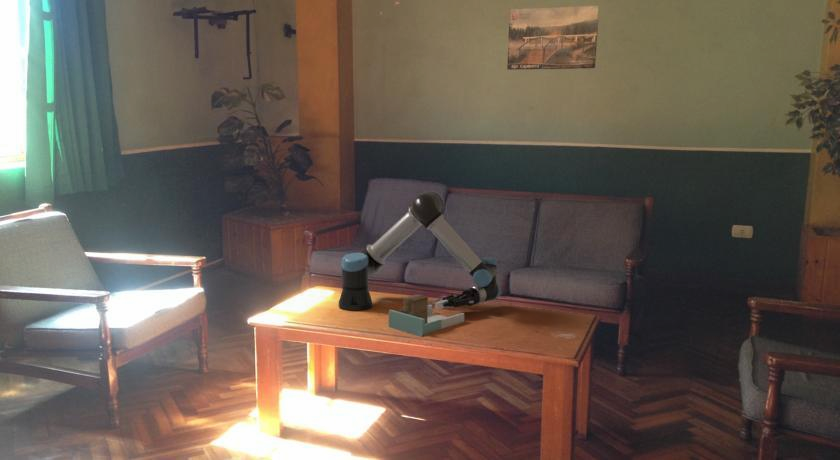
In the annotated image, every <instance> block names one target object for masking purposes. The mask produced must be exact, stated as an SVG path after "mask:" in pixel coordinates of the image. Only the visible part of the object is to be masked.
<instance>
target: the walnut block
mask: <svg viewBox="0 0 840 460" xmlns="http://www.w3.org/2000/svg"><path fill="white" fill-rule="evenodd" d="M428 302H429V299H428V296H426V295H421V294H418V293H417V294H412V295H410V296H404V297H402V310H403V313H405V314H409V315H412V316H416V317H419V318H423V319H425V324H427V313H428Z"/></svg>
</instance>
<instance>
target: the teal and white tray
mask: <svg viewBox="0 0 840 460" xmlns="http://www.w3.org/2000/svg"><path fill="white" fill-rule="evenodd" d="M433 307H434V304H433V305H428V313H427V324H425V319H423V318H419V317H416V316H412V315H409V314H405V313H402V312H398V311H399V310H398V311H397V310H395V309H389V310H388V328H391V329H395V330H397V331H401V332H404V333H407V334H411V335H414V336H418V337H421V338H425V337H426V334H429V333H433V332H436V331H440V330H442V329H446V328H449V327H452V326H455V325H458V324H462V323H465V313H464V312H462V313H458V314H457V313H456V314H454V315H451V316H445V315H441V314H437V313H434V312H433V309H434V308H433Z"/></svg>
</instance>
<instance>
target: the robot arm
mask: <svg viewBox="0 0 840 460" xmlns="http://www.w3.org/2000/svg"><path fill="white" fill-rule="evenodd" d="M444 208H445V200H444V198H443V196H442V195H441V193H440V192H437V191H435V190H428V191H425V192H423V193H421V194H418V195H417V196H416V197H414V199H413V201H412V203H411V204H410V205H408V211H407V212H406V213H405V214H404V215H403V216H402V217H401V218H400V219H399V220H398V221H397V222H395V223H394V224H393V226H391V227H390V228H389V229H388V230H387V231H386V232H385V233H384V234H383V235H382V236H380V238H379V239H377V240H376V241H375V242H374V243H373V244H367V245H366V246H365V247H364V248H363V249H362V250H361V251H359V252H351V253H347V254H345V255H344V256H343V257H342V259H341V282H342V284H341V286H342V288H341V294H340V295H339V296H340V297H339V300H338V308H339V309H341V310H345V311H364V310H365V311H366V310H369V309H370V308H373V300H372V296H371V294H370V290H369V278H370V277H371V276H372V275H375V274H376V273H377V272H378V271H379V270H380V269H381V268H382V266H384V265H385V264H386V258H388V256H389V255H391V254H392V253H393V252H394V251H395V250H396V249H397V248H398V247H399V246H401V245H402V244H403V243H404V242H405V241H406V240H407V239H408V238H410V236H411V235H413V234H414V233H415V232H416V231H417V230H418V229H419V228H420V227H421V226H423V227H424V229H426V230H430V231H431V233H432V234H433V235H434V236H435V237H436V238H437V239H438V241H439V242H440V243H441V244H442V245H443V246H444V247H445V249H446V250H447V251H448V252H449V253H450V254H451V255H452V256H453V257H454V259H456V261H457V262H458V263H459V264H460V265H461V266H462V267H463V268H464V269H465V271H466V272H467V273H468V274H469V276H470V277H472V281H473V283H474V286H473V287H468V288H466V289H464V290H463V291H462V292H461V293H458V294H454V293H450V294H449V295H446V296H447V297H444V298H442V300H439V302H436V301H434V303H435V304H434V309H435V310H441V309H445V308H446V307H450V308H451V307H453V308H458V307H463V306H468V307H471V306H476V305H479V304H482V303H485V302H488V301H493V300H495V299H498V298H499V297H500V296H501V294H502V288H501V286H500V284H499V283H498V282H497V270H498V269H497V267H498V261H497V259H496V257H494V256H483V257H481V258H480V257H478V255H477V254H476V253H475V252H474V251H473V250H472V249H471V247H469V245H468V244H467V243H466V242H465V241H464V240H463V238H461V236H459V234H458V233H457V231H455V229H453V227H452V226H451V225H450V224H449V222H447V220H445V218H444V214H443V211H444Z"/></svg>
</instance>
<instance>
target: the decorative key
mask: <svg viewBox="0 0 840 460" xmlns="http://www.w3.org/2000/svg"><path fill="white" fill-rule="evenodd" d="M447 296H448V295H442V296H440V297H439V298H436V299H435V300H434V302H433V300H432V301H431V300H430V301H428V305H433V306H434V305H435V302H439V301H441V299H443V298H444V297H447ZM449 307H450V306H448V307H445V308H446V310H449Z"/></svg>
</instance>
